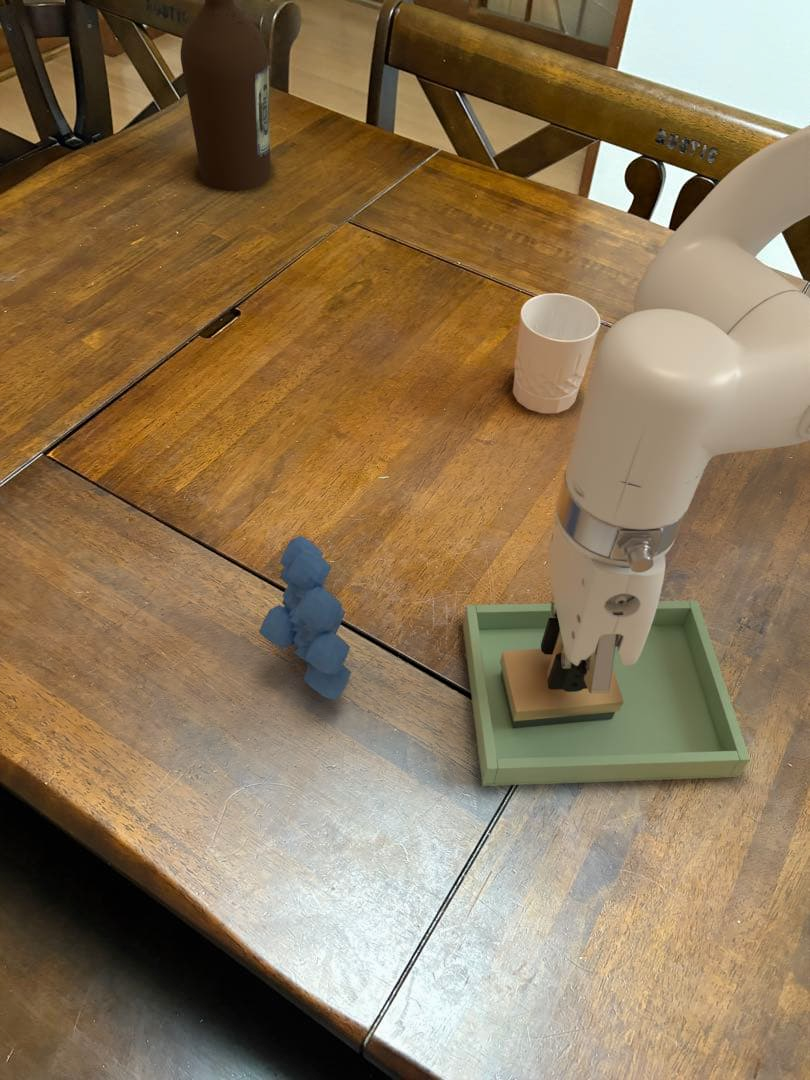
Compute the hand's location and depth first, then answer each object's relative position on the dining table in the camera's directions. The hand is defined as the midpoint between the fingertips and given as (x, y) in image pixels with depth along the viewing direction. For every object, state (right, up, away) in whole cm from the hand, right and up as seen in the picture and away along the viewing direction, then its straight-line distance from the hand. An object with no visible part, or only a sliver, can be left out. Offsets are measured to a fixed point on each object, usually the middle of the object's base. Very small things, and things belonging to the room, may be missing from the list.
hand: (564, 666), depth 69 cm
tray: (+3, -3, +4) cm, 6 cm away
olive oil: (-35, +59, +54) cm, 87 cm away
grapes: (-20, -1, +5) cm, 21 cm away
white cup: (+3, +25, +28) cm, 38 cm away
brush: (0, -3, +3) cm, 4 cm away
